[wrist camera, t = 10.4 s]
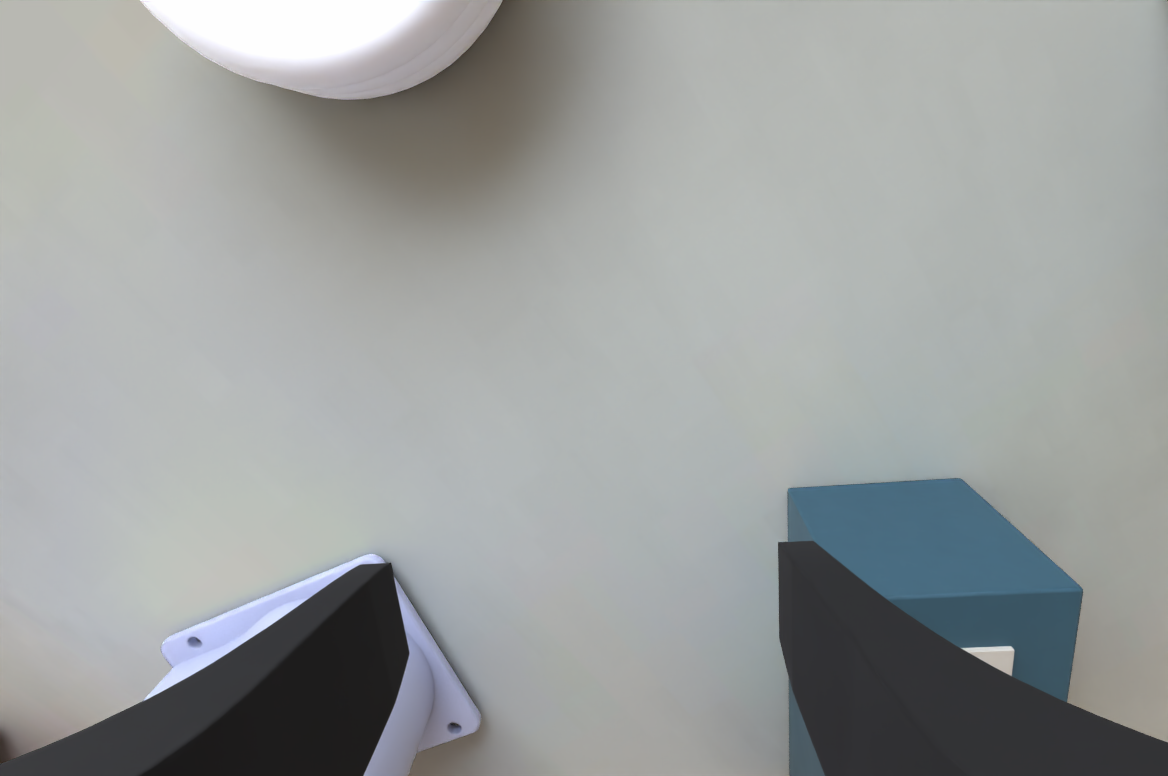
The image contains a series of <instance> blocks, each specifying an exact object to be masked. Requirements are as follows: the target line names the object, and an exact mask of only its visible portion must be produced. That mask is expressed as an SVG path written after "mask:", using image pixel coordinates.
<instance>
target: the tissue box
mask: <svg viewBox="0 0 1168 776" xmlns="http://www.w3.org/2000/svg"><path fill="white" fill-rule="evenodd" d="M796 541H814V542H816V543H817V544H818V545H819V546H821V547H822V548H823V549H824V550H826V551H827V552H828V553H829V554H830V555H832V556H833V557H834V558H835V559H837V560H838V561H839V562H840V563H841V564H843V565H844V566H845V567H846V568H848V569H849V570H850V571H851V572H853V573H854V574H855V575H856V576H857V577H859V578H860V579H861V580H863V581H864V582H865V583H866V584H868V585H869V586H870V587H872V588H873V589H874V590H875V591H877V592H878V593H879V594H881V595H882V596H883V597H885V598H886V599H887V600H889V601H890V602H891V603H893V604H894V605H896V606H897V607H898V608H900V609H901V610H903V611H904V612H905V613H907V614H908V615H910V616H911V617H913V618H914V619H916V620H917V621H919V622H920V623H922V624H923V625H925V626H926V627H928V628H929V629H931V630H932V631H934V632H935V633H937V634H938V635H940V636H941V637H943V638H945V639H946V640H948V641H950V642H951V643H953V644H954V645H956V646H958V647H960V648H961V649H963V650H965V651H967V652H968V653H970V654H972V655H974V656H975V657H977V658H979V659H981V660H983V661H984V662H986V663H988V664H990V665H991V666H993V667H995V668H997V669H999V670H1001V671H1003V672H1005V673H1007V674H1008V675H1010V676H1012V677H1014V678H1016V679H1018V680H1020V681H1022V682H1024V683H1027V684H1029V685H1031V686H1033V687H1035V688H1037V689H1039V690H1041V691H1043V692H1046V693H1048V694H1050V695H1052V696H1054V697H1056V698H1058V699H1060V700H1062V701H1065V702H1067V699H1068V692H1069V685H1070V678H1071V671H1072V664H1073V658H1074V651H1075V644H1076V637H1077V630H1078V623H1079V616H1080V609H1081V603H1082V596H1083V589H1082V587H1081V586H1080V585H1078V584H1077V583H1076V582H1075V581H1074V580H1073V579H1072V578H1071V577H1070V576H1068V575H1067V574H1066V573H1065V572H1064V571H1063V570H1062V569H1061V568H1060V567H1058V566H1057V565H1056V564H1055V563H1054V562H1053V561H1052V560H1051V559H1050V558H1048V557H1047V556H1046V555H1045V554H1044V553H1043V552H1042V551H1041V550H1040V549H1039V548H1037V547H1036V546H1035V545H1034V544H1033V543H1032V542H1031V541H1030V540H1029V539H1027V538H1026V537H1025V536H1024V535H1023V534H1022V533H1021V532H1020V531H1019V530H1017V529H1016V528H1015V527H1014V526H1013V525H1012V524H1011V523H1010V522H1009V521H1008V520H1006V519H1005V518H1004V517H1003V516H1002V515H1001V514H1000V513H999V512H998V511H996V510H995V509H994V508H993V507H992V506H991V505H990V504H989V503H988V502H986V501H985V500H984V499H983V498H982V497H981V496H980V495H979V494H978V493H976V492H975V491H974V490H973V489H972V488H971V487H970V486H969V485H968V484H967V483H965V482H964V481H963V480H962V479H960V478H955V479H938V480H921V481H904V482H887V483H870V484H853V485H837V486H820V487H803V488H789V489H788V542H796ZM789 776H825V775H824V772H823V769H822V767H821V764H820V762H819V759H818V757H817V754H816V751H815V749H814V746H813V744H812V741H811V738H810V736H809V733H808V731H807V728H806V725H805V723H804V720H803V717H802V715H801V712H800V710H799V707H798V704H797V702H796V699H795V696H794V694H793V691H792V687H791V683H790V679H789Z"/></svg>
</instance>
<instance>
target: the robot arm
mask: <svg viewBox="0 0 1168 776" xmlns="http://www.w3.org/2000/svg"><path fill="white" fill-rule="evenodd" d="M778 559H779V639H780V643H781V647H782V651H783V655H784V659H785V664H786V668H787V672H788V675H789V679H790V683H791V687H792V691H793V694H794V696H795V699H796V702H797V704H798V707H799V710H800V712H801V715H802V717H803V720H804V723H805V725H806V728H807V731H808V733H809V736H810V738H811V741H812V744H813V746H814V749H815V751H816V754H817V757H818V759H819V762H820V764H821V767H822V769H823V772H824V775H825V776H1168V742H1164V741H1162V740H1159V739H1156V738H1154V737H1151V736H1148V735H1146V734H1143V733H1140V732H1138V731H1135V730H1133V729H1130V728H1128V727H1125V726H1123V725H1120V724H1118V723H1115V722H1112V721H1110V720H1107V719H1105V718H1102V717H1100V716H1097V715H1095V714H1093V713H1090V712H1088V711H1086V710H1083V709H1081V708H1079V707H1076V706H1074V705H1072V704H1069V703H1067V702H1065V701H1062V700H1060V699H1058V698H1056V697H1054V696H1052V695H1050V694H1048V693H1046V692H1043V691H1041V690H1039V689H1037V688H1035V687H1033V686H1031V685H1029V684H1027V683H1024V682H1022V681H1020V680H1018V679H1016V678H1014V677H1012V676H1010V675H1008V674H1007V673H1005V672H1003V671H1001V670H999V669H997V668H995V667H993V666H991V665H990V664H988V663H986V662H984V661H983V660H981V659H979V658H977V657H975V656H974V655H972V654H970V653H968V652H967V651H965V650H963V649H961V648H960V647H958V646H956V645H954V644H953V643H951V642H950V641H948V640H946V639H945V638H943V637H941V636H940V635H938V634H937V633H935V632H934V631H932V630H931V629H929V628H928V627H926V626H925V625H923V624H922V623H920V622H919V621H917V620H916V619H914V618H913V617H911V616H910V615H908V614H907V613H905V612H904V611H903V610H901V609H900V608H898V607H897V606H896V605H894V604H893V603H891V602H890V601H889V600H887V599H886V598H885V597H883V596H882V595H881V594H879V593H878V592H877V591H875V590H874V589H873V588H872V587H870V586H869V585H868V584H866V583H865V582H864V581H863V580H861V579H860V578H859V577H857V576H856V575H855V574H854V573H853V572H851V571H850V570H849V569H848V568H846V567H845V566H844V565H843V564H841V563H840V562H839V561H838V560H837V559H835V558H834V557H833V556H832V555H830V554H829V553H828V552H827V551H826V550H824V549H823V548H822V547H821V546H819V545H818V544H817V543H816V542H814V541H796V542H778ZM196 638H198V639H199V640H200V641H201V642H200V641H198V640H197V639H196ZM161 652H162V654H163V656H164V657H165V659H166V660H167V661H168V663H169V664H170V665H171V667H172V668H173V669H172V670H171V671H170V672H169V673H168V674H167V675H166V676H165V677H164V678H163V679H162V680H161V682H160V683H159V684H158V685H157V686H156V687H155V688H154V689H153V690H152V691H151V692H150V693H149V695H148V696H147V697H146V698H145V699H144V700H143V701H142V702H140V703H138V704H136V705H134V706H132V707H130V708H128V709H126V710H124V711H122V712H120V713H118V714H115V715H113V716H111V717H109V718H107V719H105V720H103V721H101V722H99V723H97V724H95V725H93V726H91V727H88V728H86V729H84V730H82V731H80V732H77V733H75V734H73V735H70V736H68V737H66V738H63V739H61V740H59V741H56V742H54V743H52V744H49V745H47V746H45V747H42V748H40V749H37V750H35V751H32V752H30V753H27V754H25V755H22V756H20V757H17V758H15V759H12V760H10V761H7V762H4V763H2V764H0V776H408V775H409V772H410V769H411V766H412V764H413V761H414V758H415V756H416V753H417V752H420V751H423V750H426V749H428V748H431V747H434V746H437V745H440V744H443V743H446V742H449V741H452V740H455V739H457V738H460V737H463V736H466V735H469V734H472V733H474V732H476V731H477V730H478V728H479V726H480V723H481V714H480V712H479V711H478V709H477V707H476V706H475V704H474V703H473V701H472V699H471V698H470V696H469V695H468V693H467V692H466V690H465V688H464V687H463V685H462V684H461V682H460V680H459V679H458V677H457V676H456V674H455V672H454V671H453V669H452V668H451V666H450V664H449V663H448V661H447V660H446V658H445V656H444V655H443V653H442V652H441V650H440V649H439V647H438V645H437V644H436V642H435V641H434V639H433V637H432V636H431V634H430V633H429V631H428V629H427V628H426V626H425V625H424V623H423V621H422V620H421V618H420V617H419V615H418V614H417V612H416V610H415V609H414V607H413V606H412V604H411V602H410V601H409V599H408V598H407V596H406V594H405V593H404V591H403V590H402V588H401V586H400V585H399V583H398V582H397V580H396V578H395V577H394V575H393V571H392V566H391V563H385V561H384V560H383V559H382V558H381V557H379V556H378V555H375V554H367V555H364V556H361V557H359V558H356V559H354V560H352V561H349V562H347V563H344V564H342V565H340V566H337V567H335V568H332V569H330V570H327V571H325V572H323V573H320V574H318V575H315V576H313V577H311V578H308V579H306V580H303V581H301V582H299V583H296V584H294V585H291V586H289V587H286V588H284V589H282V590H279V591H277V592H274V593H272V594H270V595H267V596H265V597H262V598H260V599H258V600H255V601H253V602H250V603H248V604H245V605H243V606H241V607H238V608H236V609H233V610H231V611H229V612H226V613H224V614H221V615H219V616H217V617H214V618H212V619H209V620H207V621H204V622H202V623H200V624H197V625H195V626H192V627H190V628H188V629H185V630H183V631H180V632H178V633H176V634H173V635H171V636H170V637H168V638H167V639H166V640H165V641H164V642H163V643H162V645H161ZM452 723H457V724H459V725H458V726H456V725H453V724H452Z"/></svg>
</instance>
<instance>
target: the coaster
mask: <svg viewBox="0 0 1168 776" xmlns="http://www.w3.org/2000/svg"><path fill="white" fill-rule="evenodd" d="M140 1H141V2H142V3H143V5H144V6H145V7H146V8H147V9H148V10H149V11H150V12H151V14H153V15H154V16H155V17H156V18H157V19H158V20H159V21H160V22H161V23H163V24H164V25H165V26H166V27H167V28H168V29H169V30H170V31H171V32H173V33H174V34H175V35H176V36H177V37H178V38H179V39H180V40H181V41H183V42H184V43H185V44H187V45H188V46H190V47H191V48H193V49H194V50H195V51H197V52H198V53H200V54H201V55H203V56H204V57H205V58H207V59H209V60H211V61H212V62H214V63H216V64H218V65H220V66H222V67H224V68H226V69H228V70H230V71H231V72H234V73H237V74H239V75H242V76H245V77H247V78H250V79H253V80H255V81H258V82H262V83H267V84H271V85H275V86H278V87H281V88H285V89H290V90H294V91H298V92H300V93H305V94H309V95H313V96H318V97H322V98H330V99H342V100H354V99H370V98H375V97H380V96H385V95H390V94H393V93H396V92H399V91H403V90H406V89H409V88H412V87H414V86H416V85H418V84H420V83H422V82H424V81H426V80H428V79H430V78H432V77H434V76H435V75H436V74H438V73H439V72H441V71H442V70H444V69H445V68H447V67H448V66H450V65H451V64H452V63H453V62H455V61H456V60H457V59H458V58H459V57H460V56H461V55H462V54H463V53H464V52H466V51H467V50H468V49H469V48H470V47H471V45H472V44H473V43H474V42H475V41H476V39H477V38H478V37H479V36H480V35H481V34H482V32H483V31H484V30H485V29H486V27H487V26H488V24H489V23H490V21H491V19H492V18H493V16H494V15H495V13H496V12H497V10H498V8H499V7H500V5H501V3H502V1H503V0H140Z"/></svg>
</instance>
